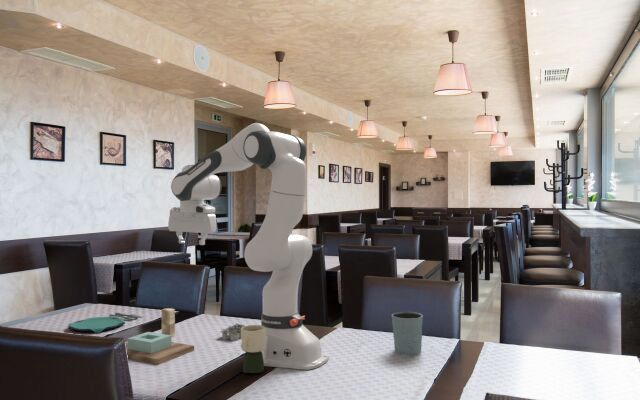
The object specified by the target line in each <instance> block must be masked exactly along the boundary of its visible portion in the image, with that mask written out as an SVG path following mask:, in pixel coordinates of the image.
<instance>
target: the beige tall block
mask: <svg viewBox="0 0 640 400" xmlns="http://www.w3.org/2000/svg"><path fill="white" fill-rule="evenodd" d="M175 311H176V309H175V308H171V307H170V308H169V307H166V308H165V307H164V308H162V309H161V334H165V335H171V338H174V337H176V317H175V316H176V315H175Z"/></svg>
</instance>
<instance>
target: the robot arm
mask: <svg viewBox="0 0 640 400" xmlns="http://www.w3.org/2000/svg"><path fill="white" fill-rule="evenodd" d="M306 156H307V146H306V143H305V142H304V140H303V139H302V138H300V137H298V136H296V135H293V134H287V133H283V132H280V131H274V130H273V131H271V130H270V129H269V128H268V127H267V126H265V125H264V124H263V123H259V122H254V123H250V125H247V126H246V127H244V128H242V130H240V131H239V132H238V133H237V134H235V136H234V137H232V138H231V139H230V140H228V142H227V143H225V144H224V145H222V146H220V147H219V148H216V149H215V150H214V151H212V152H210V153H208V154H206V155H205V156H203V157H202V158H201V159H200V160H198V161H196V163H194V164H188V165H185V166H184V167H182V168H181V172H178V173H177V174H176V175H175V176H174V178H173V179H172V181H171V186H170V187H171V188H170V189H171V192H172V194H173V195H174V196H175V198H176V199H178V200H179V207H176V206H173V207H172V208H171V209H170V210H169V216H168V222H167V223H168V224H167V229H168V230H169V232H175V235H176V237H177V239H178V244H185V238H184V237H183V233H195V234H197V233H198V234H199V233H200V236H202V237H201V238H200V239H199V240H198V245H200V246H204V245H206V239H207V238H208V235H209V234H214V233H216V231H217V217H216V214H215V213H216V207H215V206H212V205H210V204H207V203H205V200H207V201H209V200H215V199H217V198H218V197H219V196H220V195H221V193H222V181H221V180H220V179H221V178H220V177H218V175H216V174H219V173H229V172H230V173H231V172H241V171H245V170H246V169H248V168H250V167H251V166H253V165H256V166H258V167H259V168H260V169H261V170H267V169H269V171H270V172H271V175H272V176H271V182H270V183H271V184H270V190H269V197H268V204H267V210H266V213H265V217H264V219H263V222H262V225H261V226H260V228H259V230H258V231H257V233H256V234H255V236H254V237H253V238H252V239H251V240H250V241H249V242H247V244H246V245H245V248H244V254H243V256H244V260H245V263H246V265H247V266H248V268H250V269H251V270H253V271H255V272H264V273H268V272H272V273H271V277H270V278H269V280H268V281H267V283H265V285H264V286H263V287H262V312H261V317H260V320H261V321H260V322H261V324H260V325H261V326H264V327H265V349H264V350H263V351H261V352H262V355H263V361H264V367H274V368H284V369H295V370H307V371H308V370H313V369H316V368H318V367H321V366H323V365H324V364H326V363H327V362H328V361H329V359H330V358H329V354H327V353H324V352H322V347H321V346H322V345H321V341H320V339H319V338H318V337H317V336H316V335H314V334H313V332H311V331H310V330H309V329H308V328H307V327H306V326H305V325H304V324H303V320H306V318H305V317H306V315H300V313H299V311H298V300H299V299H298V294H299V285H300V280H301V277H302V274H303V271H304V268H305V267H306V265H307V263H309V261H310V260H311V258H312V256H313V245H312V242H311V240H310V239H309V238H308V237H307V236H305V235H302V234H297V233H292V232H293V229H294V228H295V227H296V226H297V225H298V224H299V223H300V222H301V220H302V218H303V215H304V214H303V213H304V207H305V202H306V201H305V199H306V193H307V182H308V181H307V177H308V176H307V175H308V173H307V171H308V170H307V165H306V163H305V161H304V160H305V158H306Z"/></svg>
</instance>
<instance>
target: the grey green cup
mask: <svg viewBox="0 0 640 400" xmlns="http://www.w3.org/2000/svg"><path fill="white" fill-rule="evenodd" d="M423 317H424V315H423V314H422V313H420V312H415V311H399V312H398V311H397V312H394V313H392V314H391V322H392V323H391V324H392V333H393V341H394V343H393V345H394V352H395V353H396V354H398V355H402V356H415V355H420V354H421V353H422V339H423V330H422V328H423Z"/></svg>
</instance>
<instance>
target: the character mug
mask: <svg viewBox="0 0 640 400" xmlns="http://www.w3.org/2000/svg"><path fill="white" fill-rule="evenodd" d="M240 339H241V344H240V348H241V349H242V351H243V352H244V356H243V361H242V362H243V363H242V372H243V373H247V374H251V375H252V374H258V373H263V372H264V371H265V366H264V361H263V355H262V352H261V351H263V350H264V349H265V327H264V326H262V325H261V324H250V325H245V326H244V327H242V328H241V338H240Z"/></svg>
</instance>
